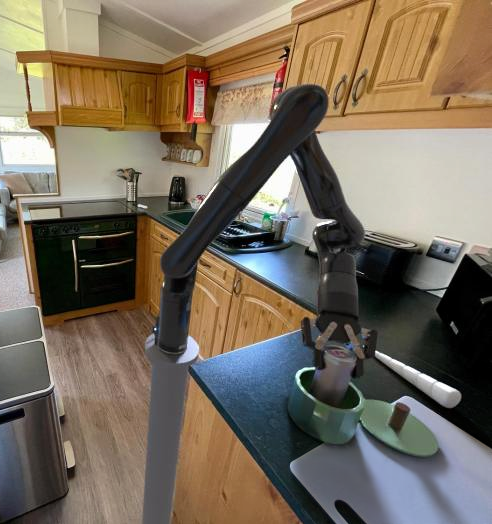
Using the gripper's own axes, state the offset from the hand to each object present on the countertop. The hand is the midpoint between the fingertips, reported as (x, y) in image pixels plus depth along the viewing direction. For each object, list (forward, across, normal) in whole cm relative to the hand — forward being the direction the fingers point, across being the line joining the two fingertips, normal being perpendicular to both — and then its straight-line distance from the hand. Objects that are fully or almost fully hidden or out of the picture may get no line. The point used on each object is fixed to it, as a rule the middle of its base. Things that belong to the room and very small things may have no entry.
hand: (337, 373), depth 58 cm
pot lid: (+6, +15, +12) cm, 20 cm away
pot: (+8, 0, +11) cm, 14 cm away
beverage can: (+7, 0, +9) cm, 11 cm away
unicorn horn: (-8, +25, +28) cm, 38 cm away
